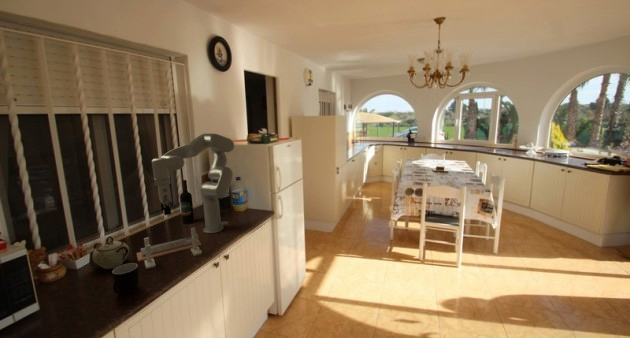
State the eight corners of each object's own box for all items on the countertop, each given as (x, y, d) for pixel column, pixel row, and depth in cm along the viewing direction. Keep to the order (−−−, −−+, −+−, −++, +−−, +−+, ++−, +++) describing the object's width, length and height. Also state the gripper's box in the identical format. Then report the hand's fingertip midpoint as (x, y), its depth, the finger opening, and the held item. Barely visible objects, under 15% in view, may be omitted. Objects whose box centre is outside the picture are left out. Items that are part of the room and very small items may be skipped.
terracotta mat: (197, 239, 173) (197, 238, 172) (201, 245, 164) (201, 244, 164) (136, 254, 155) (136, 253, 155) (138, 261, 147) (138, 260, 147)
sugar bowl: (141, 259, 149) (138, 231, 147) (116, 274, 135) (112, 244, 132) (110, 256, 153) (106, 229, 151) (82, 270, 139) (77, 241, 136)
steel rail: (194, 241, 169) (194, 235, 168) (196, 242, 166) (195, 237, 166) (141, 254, 153) (140, 248, 153) (142, 256, 151) (141, 250, 150)
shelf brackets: (198, 248, 161) (196, 226, 158) (202, 253, 154) (200, 230, 152) (144, 262, 146) (141, 238, 144) (146, 269, 139) (143, 243, 137)
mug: (124, 284, 127) (121, 263, 125) (145, 284, 127) (142, 262, 125) (104, 301, 115) (101, 278, 113) (127, 301, 115) (124, 278, 113)
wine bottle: (196, 221, 204) (192, 179, 199) (187, 224, 197) (183, 181, 192) (188, 219, 207) (184, 178, 202) (179, 223, 200) (175, 181, 195)
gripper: (173, 183, 148) (176, 214, 151) (167, 177, 162) (171, 206, 165) (156, 185, 144) (160, 218, 147) (152, 179, 158) (156, 209, 161)
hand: (166, 212), depth 156 cm, fingers open, 9 cm apart
